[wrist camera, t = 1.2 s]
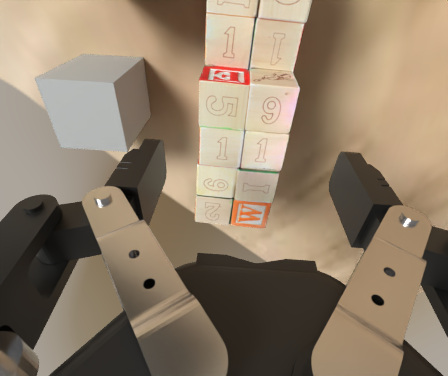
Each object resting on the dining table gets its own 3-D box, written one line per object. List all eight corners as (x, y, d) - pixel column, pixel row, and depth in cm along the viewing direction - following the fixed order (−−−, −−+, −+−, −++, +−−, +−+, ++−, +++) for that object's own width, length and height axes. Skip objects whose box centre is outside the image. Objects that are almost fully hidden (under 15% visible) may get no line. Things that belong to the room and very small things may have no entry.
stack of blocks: (223, -102, 20) (204, -174, 10) (308, -92, 20) (370, -154, 10) (207, 151, 33) (193, 224, 23) (258, 156, 33) (265, 231, 23)
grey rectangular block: (143, 57, 27) (113, 82, 20) (151, 115, 30) (127, 151, 24) (83, 53, 27) (34, 78, 20) (98, 111, 30) (60, 147, 24)
